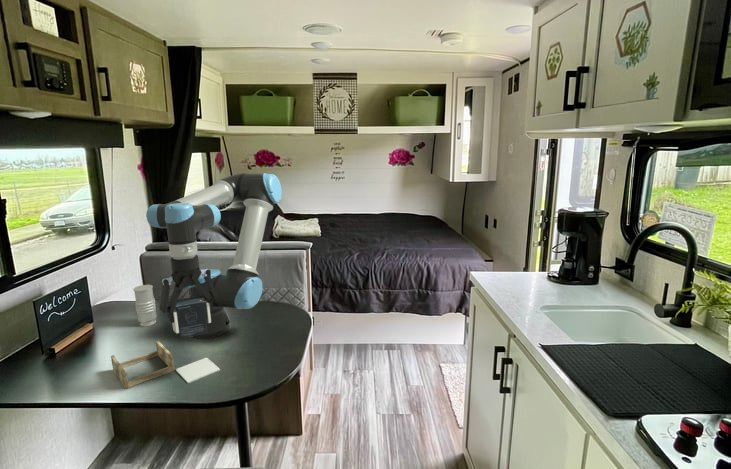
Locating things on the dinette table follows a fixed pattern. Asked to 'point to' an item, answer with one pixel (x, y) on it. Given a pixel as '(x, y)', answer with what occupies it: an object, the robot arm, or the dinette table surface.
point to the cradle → (160, 352)
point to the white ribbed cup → (145, 305)
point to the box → (191, 316)
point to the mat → (197, 370)
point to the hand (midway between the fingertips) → (192, 326)
